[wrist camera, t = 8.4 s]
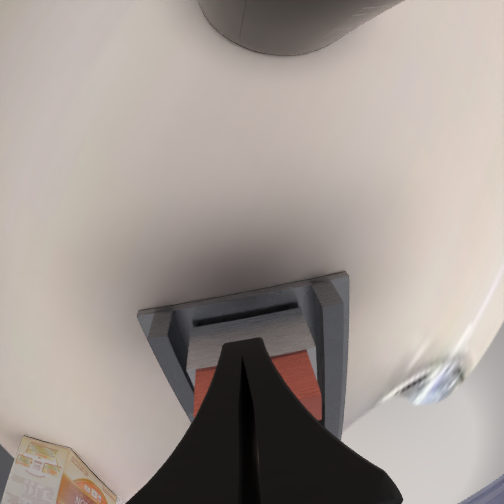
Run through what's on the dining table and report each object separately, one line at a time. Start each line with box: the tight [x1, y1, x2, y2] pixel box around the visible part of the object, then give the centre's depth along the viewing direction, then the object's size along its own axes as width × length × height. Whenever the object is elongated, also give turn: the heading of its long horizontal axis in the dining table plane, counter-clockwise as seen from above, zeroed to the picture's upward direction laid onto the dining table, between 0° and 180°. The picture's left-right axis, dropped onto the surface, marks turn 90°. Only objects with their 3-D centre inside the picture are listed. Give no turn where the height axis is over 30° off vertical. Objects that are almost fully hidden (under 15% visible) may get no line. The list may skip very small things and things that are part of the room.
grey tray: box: [137, 272, 349, 440], centre depth 17 cm, size 17×11×4 cm, turn 10°
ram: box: [186, 307, 322, 420], centre depth 13 cm, size 4×6×6 cm
